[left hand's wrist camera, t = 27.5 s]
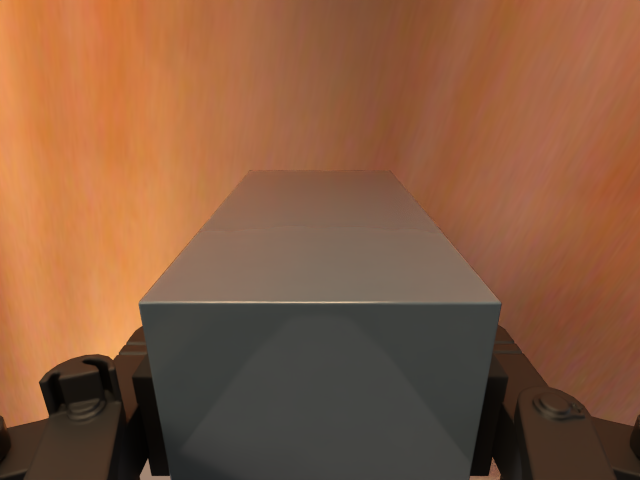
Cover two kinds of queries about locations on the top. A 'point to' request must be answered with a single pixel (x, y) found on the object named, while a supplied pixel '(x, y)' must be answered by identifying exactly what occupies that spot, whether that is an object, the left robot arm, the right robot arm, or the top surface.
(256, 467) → the brick
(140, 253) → the top surface
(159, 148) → the top surface
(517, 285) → the top surface
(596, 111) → the top surface
